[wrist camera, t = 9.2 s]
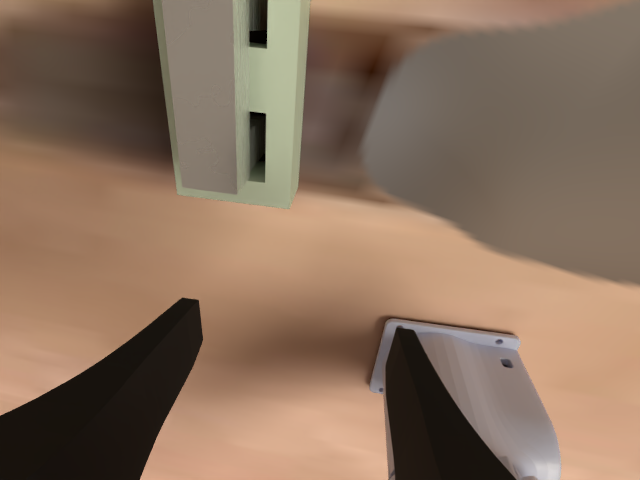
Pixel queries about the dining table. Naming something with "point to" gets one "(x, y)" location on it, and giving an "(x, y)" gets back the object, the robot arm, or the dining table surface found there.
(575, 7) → the dining table surface
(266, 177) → the slotted block
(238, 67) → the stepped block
